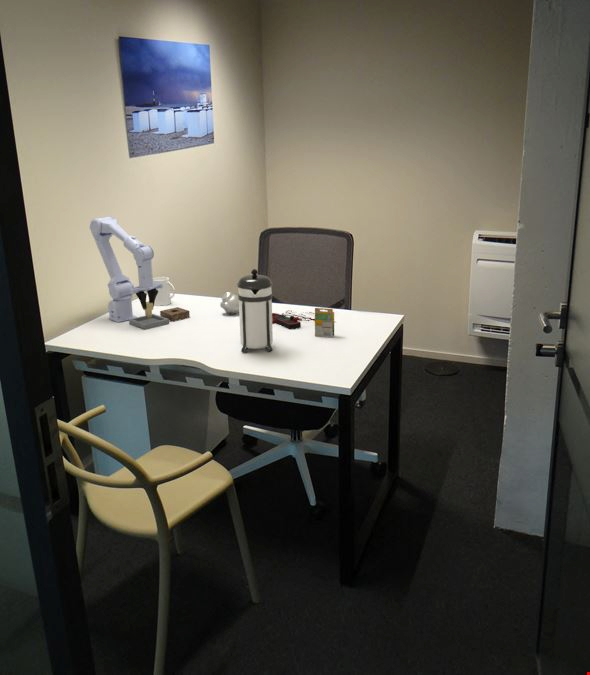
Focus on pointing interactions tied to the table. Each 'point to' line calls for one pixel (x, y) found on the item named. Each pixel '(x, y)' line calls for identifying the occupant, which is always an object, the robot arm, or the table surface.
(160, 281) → the mug
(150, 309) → the pin
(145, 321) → the tray
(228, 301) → the white piggy bank
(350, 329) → the table surface
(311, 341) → the table surface
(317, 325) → the crayon box
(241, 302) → the coffee press
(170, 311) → the block
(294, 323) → the digital clamp meter
